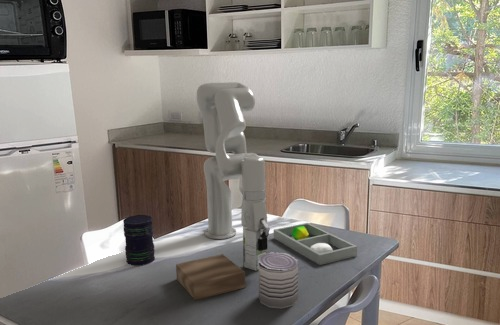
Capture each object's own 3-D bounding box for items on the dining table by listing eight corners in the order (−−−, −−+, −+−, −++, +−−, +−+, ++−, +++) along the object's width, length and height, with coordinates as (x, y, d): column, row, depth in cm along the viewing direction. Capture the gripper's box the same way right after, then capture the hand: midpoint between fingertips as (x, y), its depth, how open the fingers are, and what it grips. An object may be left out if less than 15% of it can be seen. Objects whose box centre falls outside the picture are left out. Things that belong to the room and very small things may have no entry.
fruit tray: (273, 238, 179) (273, 229, 178) (307, 231, 186) (307, 222, 186) (319, 265, 153) (319, 255, 152) (357, 255, 160) (357, 246, 160)
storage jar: (122, 266, 156) (119, 223, 153) (130, 254, 165) (127, 215, 162) (151, 265, 155) (148, 223, 152) (158, 254, 165) (155, 214, 162)
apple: (294, 220, 176) (309, 226, 169) (304, 228, 180) (319, 234, 172) (284, 236, 175) (299, 243, 167) (294, 244, 178) (309, 251, 171)
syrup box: (253, 261, 157) (253, 221, 154) (267, 265, 153) (266, 224, 151) (243, 267, 153) (242, 225, 150) (256, 271, 149) (256, 228, 146)
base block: (176, 279, 145) (176, 264, 144) (223, 268, 152) (222, 254, 151) (195, 300, 131) (194, 283, 130) (245, 287, 138) (244, 271, 137)
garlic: (313, 259, 159) (313, 248, 158) (306, 252, 165) (306, 242, 164) (334, 257, 160) (335, 246, 159) (327, 250, 167) (327, 240, 166)
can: (278, 286, 139) (278, 248, 136) (306, 299, 130) (307, 259, 128) (250, 298, 131) (249, 258, 129) (278, 313, 123) (278, 271, 121)
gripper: (232, 191, 154) (233, 240, 157) (256, 202, 139) (258, 256, 142) (251, 188, 158) (253, 236, 160) (277, 198, 142) (278, 251, 145)
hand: (255, 245), depth 151 cm, fingers open, 9 cm apart
